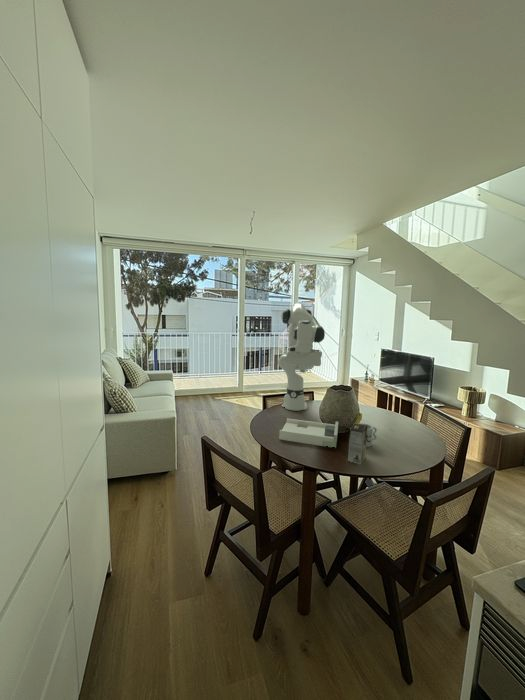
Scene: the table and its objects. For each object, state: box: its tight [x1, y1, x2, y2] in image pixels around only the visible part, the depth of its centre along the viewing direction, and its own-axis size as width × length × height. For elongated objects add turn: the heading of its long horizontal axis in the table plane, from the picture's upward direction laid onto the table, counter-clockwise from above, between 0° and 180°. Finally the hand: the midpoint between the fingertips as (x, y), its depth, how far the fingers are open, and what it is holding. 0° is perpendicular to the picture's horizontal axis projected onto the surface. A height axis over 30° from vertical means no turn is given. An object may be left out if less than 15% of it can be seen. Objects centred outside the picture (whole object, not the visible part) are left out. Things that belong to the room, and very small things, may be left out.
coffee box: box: [347, 424, 368, 465], centre depth 144 cm, size 9×6×16 cm
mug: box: [359, 422, 378, 448], centre depth 162 cm, size 12×9×10 cm
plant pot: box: [351, 411, 363, 428], centre depth 183 cm, size 10×10×10 cm
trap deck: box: [278, 417, 339, 449], centre depth 170 cm, size 20×30×7 cm, turn 74°
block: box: [325, 425, 335, 437], centre depth 166 cm, size 5×5×4 cm
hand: (302, 372), depth 176 cm, fingers closed
